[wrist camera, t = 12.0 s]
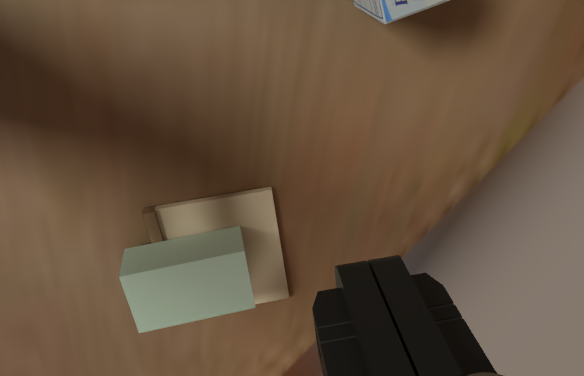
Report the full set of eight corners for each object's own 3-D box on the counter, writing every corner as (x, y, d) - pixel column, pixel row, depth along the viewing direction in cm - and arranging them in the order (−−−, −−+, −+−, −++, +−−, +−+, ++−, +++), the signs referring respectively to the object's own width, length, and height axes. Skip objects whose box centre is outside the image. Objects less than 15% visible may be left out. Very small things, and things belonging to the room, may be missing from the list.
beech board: (176, 314, 48) (175, 321, 47) (143, 208, 43) (142, 213, 42) (288, 294, 49) (289, 300, 48) (271, 186, 43) (272, 191, 42)
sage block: (139, 333, 42) (255, 307, 43) (119, 276, 39) (244, 250, 40) (142, 302, 46) (250, 279, 47) (124, 248, 43) (239, 225, 44)
